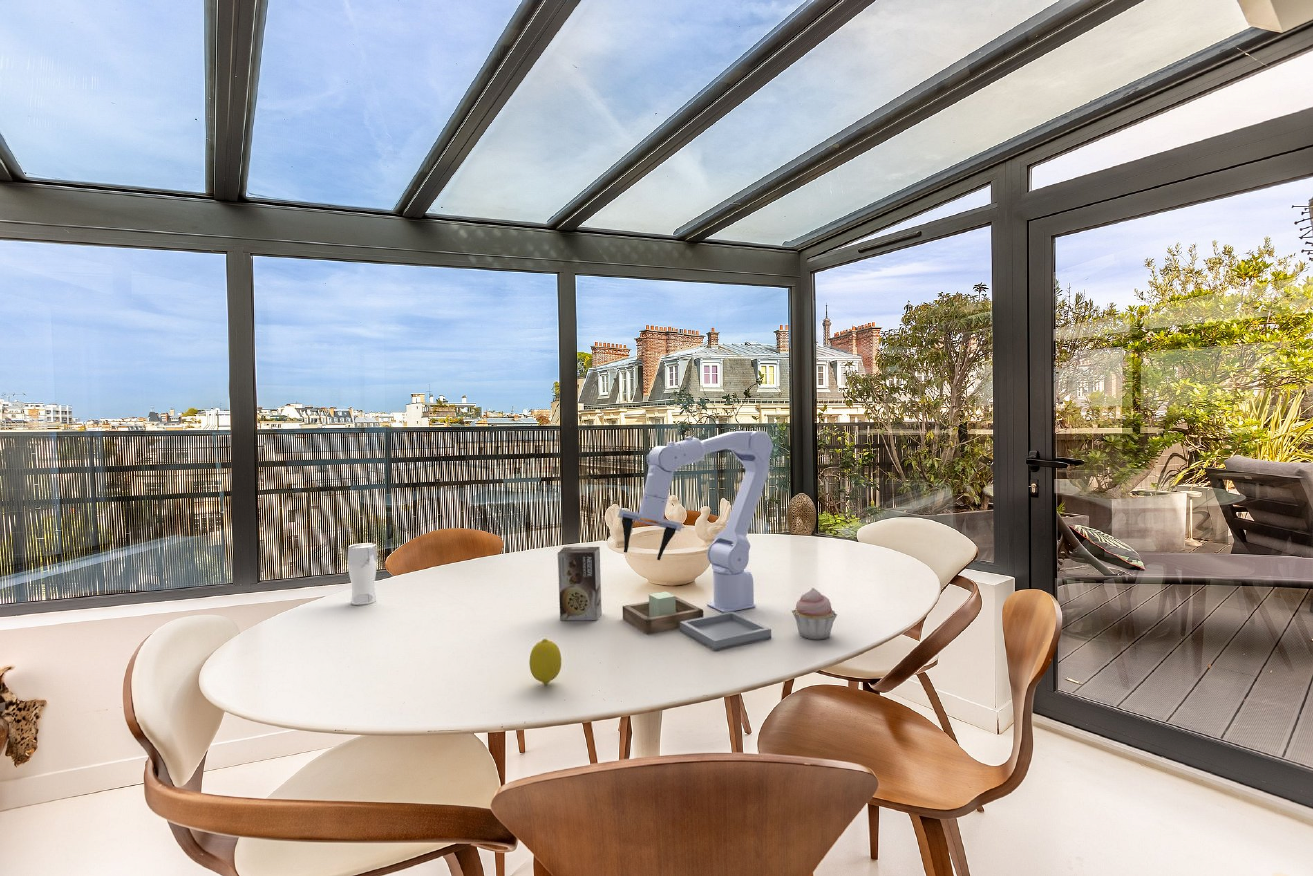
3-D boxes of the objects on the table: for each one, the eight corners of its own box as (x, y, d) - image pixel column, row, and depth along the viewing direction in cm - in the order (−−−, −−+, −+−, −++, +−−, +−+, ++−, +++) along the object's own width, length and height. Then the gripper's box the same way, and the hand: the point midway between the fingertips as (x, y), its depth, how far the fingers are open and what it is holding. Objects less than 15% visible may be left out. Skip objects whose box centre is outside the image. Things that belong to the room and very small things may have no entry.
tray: (732, 620, 141) (732, 611, 141) (771, 638, 129) (771, 628, 129) (679, 630, 135) (679, 621, 135) (714, 651, 122) (714, 641, 122)
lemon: (531, 678, 111) (530, 634, 111) (563, 677, 111) (561, 633, 111) (528, 692, 105) (526, 645, 105) (560, 690, 106) (559, 643, 106)
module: (666, 616, 145) (665, 591, 145) (675, 622, 141) (675, 596, 141) (649, 620, 143) (648, 594, 143) (658, 625, 139) (657, 599, 139)
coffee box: (602, 612, 149) (600, 546, 149) (597, 621, 143) (595, 551, 142) (565, 612, 150) (563, 546, 150) (558, 620, 144) (557, 551, 143)
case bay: (676, 609, 151) (676, 596, 151) (703, 623, 140) (703, 609, 140) (622, 618, 144) (622, 606, 144) (646, 634, 133) (646, 620, 133)
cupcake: (825, 626, 136) (824, 581, 135) (845, 640, 126) (844, 592, 126) (784, 629, 134) (784, 583, 134) (802, 644, 125) (801, 595, 125)
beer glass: (370, 605, 159) (368, 547, 159) (343, 606, 159) (341, 548, 159) (382, 598, 166) (381, 542, 166) (357, 598, 166) (355, 543, 166)
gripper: (623, 489, 137) (609, 549, 136) (686, 504, 137) (673, 564, 135) (625, 490, 144) (611, 548, 143) (685, 504, 144) (672, 562, 142)
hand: (641, 556), depth 139 cm, fingers open, 7 cm apart
